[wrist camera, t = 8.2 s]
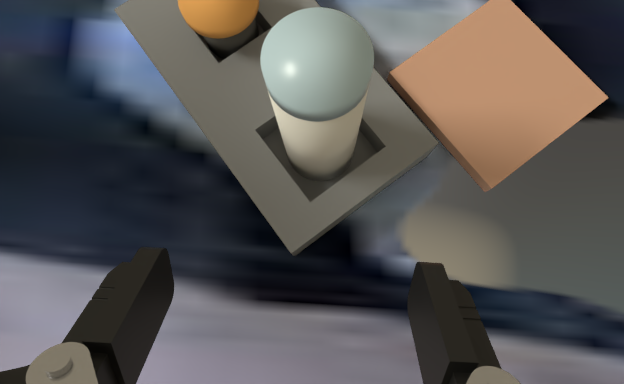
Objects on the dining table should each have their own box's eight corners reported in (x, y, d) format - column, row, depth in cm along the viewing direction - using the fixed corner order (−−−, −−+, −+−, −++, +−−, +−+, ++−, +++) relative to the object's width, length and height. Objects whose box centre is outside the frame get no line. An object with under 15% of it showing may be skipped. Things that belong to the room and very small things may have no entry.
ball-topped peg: (313, 194, 28) (305, 132, 16) (273, 142, 29) (238, 48, 17) (367, 154, 28) (397, 66, 16) (326, 104, 29) (327, -13, 17)
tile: (484, 192, 28) (491, 188, 27) (386, 80, 30) (389, 72, 29) (597, 104, 29) (608, 97, 28) (495, 2, 31) (501, -9, 30)
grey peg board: (294, 256, 28) (291, 253, 25) (133, 34, 32) (114, 9, 29) (427, 156, 29) (439, 142, 26) (255, -45, 33) (248, -76, 30)
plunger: (223, 79, 29) (206, 45, 25) (185, 29, 30) (162, -11, 26) (280, 40, 30) (273, 1, 25) (241, -7, 31) (227, -53, 26)
